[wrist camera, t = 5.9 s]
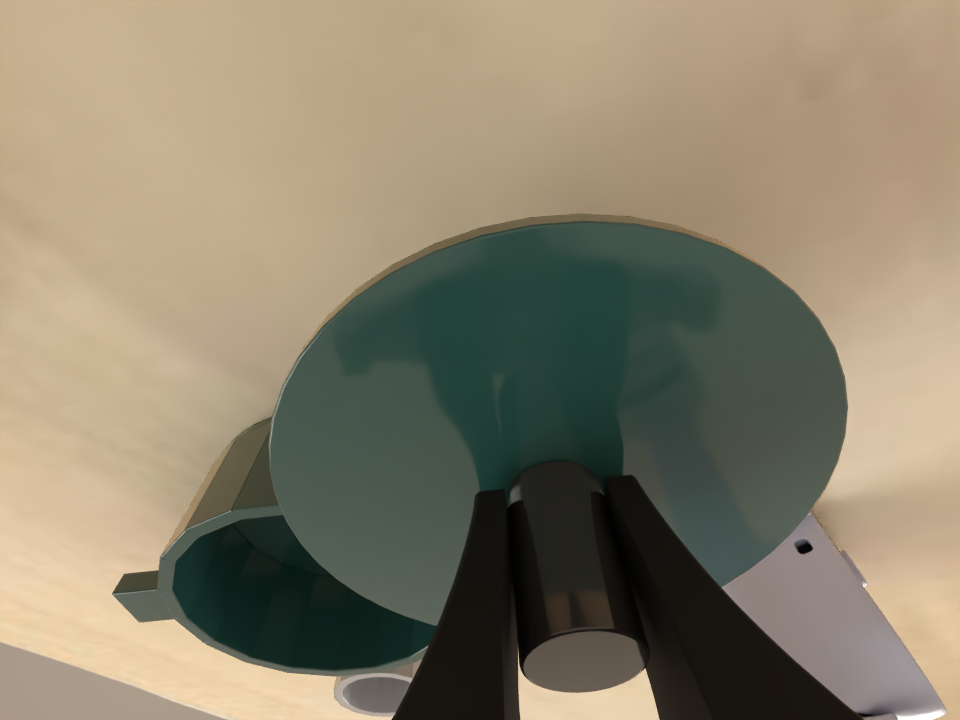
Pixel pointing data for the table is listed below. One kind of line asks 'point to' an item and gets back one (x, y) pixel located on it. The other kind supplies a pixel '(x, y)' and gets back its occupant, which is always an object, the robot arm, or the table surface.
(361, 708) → the cup
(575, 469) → the pan lid
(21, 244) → the table surface
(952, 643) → the table surface
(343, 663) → the pan
